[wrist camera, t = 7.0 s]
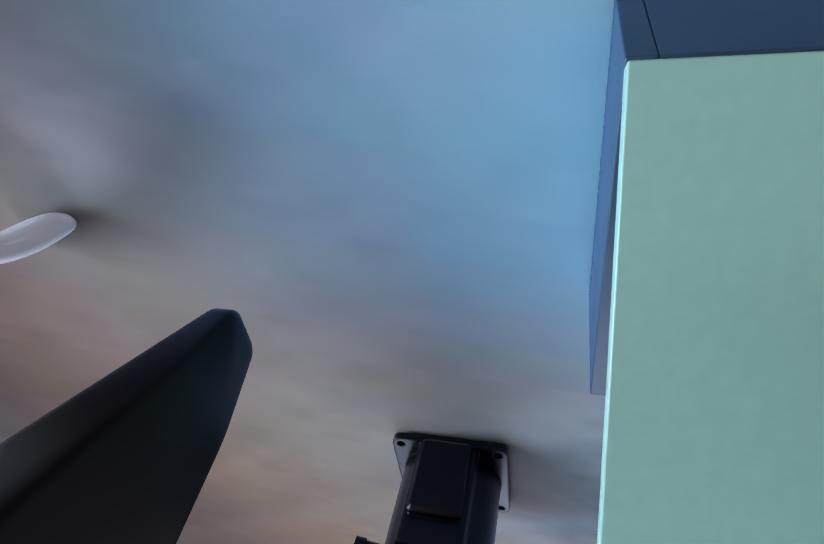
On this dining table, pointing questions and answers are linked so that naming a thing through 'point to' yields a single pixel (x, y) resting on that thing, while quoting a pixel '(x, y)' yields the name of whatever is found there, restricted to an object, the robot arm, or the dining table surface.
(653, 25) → the lunchbox
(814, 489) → the lunchbox lid
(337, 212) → the dining table surface
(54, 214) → the spoon rest
